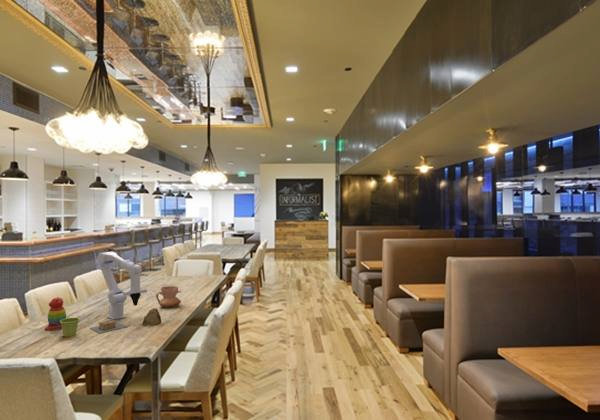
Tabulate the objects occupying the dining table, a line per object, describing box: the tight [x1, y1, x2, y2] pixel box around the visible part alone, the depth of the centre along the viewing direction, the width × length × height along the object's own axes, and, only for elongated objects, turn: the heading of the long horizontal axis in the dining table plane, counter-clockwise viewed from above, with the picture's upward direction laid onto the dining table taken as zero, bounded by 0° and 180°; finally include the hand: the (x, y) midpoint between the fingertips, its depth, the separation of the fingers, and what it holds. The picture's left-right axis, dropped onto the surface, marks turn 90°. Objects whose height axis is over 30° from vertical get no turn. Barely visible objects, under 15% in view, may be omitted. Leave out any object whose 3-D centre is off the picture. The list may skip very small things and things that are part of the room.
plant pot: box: [60, 317, 81, 338], centre depth 208 cm, size 9×9×9 cm
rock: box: [142, 307, 162, 326], centre depth 231 cm, size 11×9×10 cm
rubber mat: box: [89, 321, 129, 334], centre depth 222 cm, size 14×16×1 cm
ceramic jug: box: [155, 285, 182, 309], centre depth 272 cm, size 18×14×14 cm
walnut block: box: [98, 319, 116, 330], centre depth 221 cm, size 6×4×7 cm
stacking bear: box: [44, 296, 67, 332], centre depth 223 cm, size 11×10×18 cm
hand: (135, 305), depth 238 cm, fingers closed
